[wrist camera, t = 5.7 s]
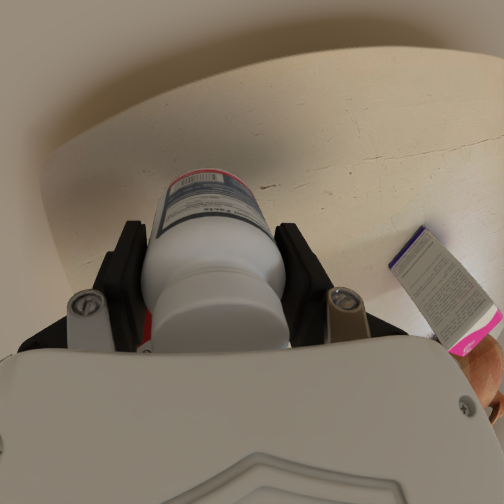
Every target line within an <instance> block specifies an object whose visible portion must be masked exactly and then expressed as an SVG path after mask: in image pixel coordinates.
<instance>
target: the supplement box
mask: <svg viewBox="0 0 504 504" xmlns="http://www.w3.org/2000/svg"><path fill="white" fill-rule="evenodd" d="M389 268H390V270H391V271H392V273H393V274H394V275H395V277H396V278H397V279H398V281H399V282H400V283H401V285H402V286H403V288H404V289H405V290H406V292H407V293H408V294H409V296H410V297H411V299H412V300H413V302H414V303H415V305H416V306H417V307H418V309H419V311H420V312H421V313H422V315H423V316H424V318H425V319H426V321H427V322H428V324H429V325H430V327H431V328H432V330H433V331H434V333H435V334H436V336H437V338H438V339H439V341H440V342H441V344H442V345H443V347H444V348H445V349H446V350H447V351H448V352H450V353H452V354H455V355H458V356H461V357H464V356H465V355H467V354H468V353H469V352H470V351H471V350H472V349H473V348H474V347H475V346H476V345H477V344H478V343H479V342H480V341H481V340H482V339H483V338H484V337H485V336H486V335H487V334H488V333H489V332H490V331H491V330H492V329H493V328H494V327H495V326H496V325H497V324H498V323H499V322H500V321H501V320H502V318H503V316H502V314H501V312H500V310H499V309H498V307H497V306H496V305H495V303H494V302H493V301H492V300H491V298H490V297H489V296H488V295H487V293H486V292H485V291H484V290H483V289H482V287H481V286H480V285H479V284H478V283H477V282H476V280H475V279H474V278H473V277H472V276H471V275H470V273H469V272H468V271H467V270H466V269H465V268H464V267H463V266H462V265H461V263H460V262H459V261H458V260H457V259H456V258H455V257H454V256H453V255H452V254H451V253H450V252H449V251H448V250H447V248H446V247H445V246H444V245H443V244H442V243H441V242H440V241H439V240H438V239H437V238H436V237H435V236H434V235H433V234H432V233H431V232H430V231H429V230H428V229H426V228H425V227H424V226H422V227H421V228H420V229H419V230H418V231H417V233H416V234H415V235H414V236H413V238H412V239H411V240H410V241H409V242H408V244H407V245H406V246H405V247H404V248H403V250H402V251H401V252H400V253H399V254H398V255H397V257H396V258H395V259H394V260H393V261H392V262H391V263H390V265H389Z"/></svg>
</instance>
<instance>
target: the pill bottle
mask: <svg viewBox="0 0 504 504" xmlns="http://www.w3.org/2000/svg"><path fill="white" fill-rule="evenodd" d="M285 281H286V273H285V267H284V263H283V259H282V256H281V253H280V251H279V249H278V247H277V244H276V242H275V240H274V238H273V236H272V234H271V232H270V229H269V227H268V225H267V223H266V221H265V219H264V217H263V215H262V212H261V210H260V208H259V206H258V204H257V202H256V199H255V197H254V195H253V194H252V192H251V190H250V189H249V187H248V186H247V185H246V184H245V183H244V182H243V181H242V180H241V179H240V178H239V177H237V176H236V175H234V174H232V173H230V172H228V171H225V170H222V169H218V168H199V169H194V170H191V171H188V172H186V173H184V174H182V175H180V176H179V177H177V178H176V179H175V180H173V181H172V182H171V183H170V184H169V185H168V187H167V188H166V189H165V191H164V192H163V194H162V196H161V198H160V201H159V203H158V207H157V210H156V214H155V218H154V223H153V227H152V231H151V236H150V240H149V243H148V247H147V250H146V254H145V258H144V261H143V266H142V272H141V292H142V296H143V299H144V302H145V304H146V306H147V308H148V310H149V312H150V313H151V314H152V328H151V348H152V353H220V352H242V351H259V350H272V349H284V348H287V347H288V343H289V328H288V325H287V322H286V319H285V316H284V313H283V308H282V304H281V302H280V300H281V298H282V296H283V292H284V288H285Z"/></svg>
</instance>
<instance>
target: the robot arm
mask: <svg viewBox="0 0 504 504" xmlns="http://www.w3.org/2000/svg"><path fill="white" fill-rule="evenodd" d="M274 240H275V242H276V244H277V247H278V249H279V251H280V253H281V256H282V259H283V263H284V267H285V273H286V281H285V288H284V292H283V296H282V298H281V300H280V302H281V304H282V308H283V313H284V316H285V319H286V322H287V325H288V328H289V341H290V344H291V347H292V348H284V349H272V350H259V351H242V352H220V353H137V345H142V341H143V332H144V324H145V317H146V310H147V306H146V304H145V302H144V299H143V296H142V292H141V272H142V266H143V261H144V258H145V254H146V250H147V238H146V226H145V224H141V221H127V222H126V224H125V226H124V229H123V231H122V233H121V236H120V238H119V240H118V243H117V245H116V248H115V250H114V251H108V252H107V253H106V255H105V258H104V260H103V262H102V265H101V267H100V270H99V272H98V275H97V277H96V280H95V282H94V285H93V288H92V289H86V290H83V291H80V292H78V293H76V294H74V295H73V296H72V297H71V298H70V300H69V302H68V305H67V316H65V317H63V318H62V319H60V320H58V321H57V322H55V323H53V324H52V325H50V326H48V327H47V328H45V329H43V330H42V331H40V332H39V333H37V334H35V335H34V336H32V337H31V338H29V339H27V340H26V341H25V342H23V343H22V344H21V346H20V347H19V349H18V352H17V354H14V355H12V354H11V355H9V356H8V357H6V358H4V359H2V360H0V504H504V454H503V452H502V449H501V446H500V444H499V441H498V439H497V437H496V435H495V432H494V430H493V427H492V425H491V423H490V421H489V419H488V417H487V415H486V413H485V411H484V409H483V407H482V405H481V403H480V401H479V399H478V397H477V395H476V393H475V392H474V390H473V388H472V386H471V385H470V383H469V381H468V380H467V378H466V376H465V375H464V373H463V372H462V370H461V366H460V364H459V362H458V361H457V360H456V359H455V358H454V357H452V356H451V355H450V354H449V353H448V351H447V350H446V349H445V348H444V347H443V346H442V345H441V344H439V343H438V342H436V341H434V340H431V339H428V338H424V337H419V336H412V335H409V334H408V333H406V332H405V331H403V330H401V329H399V328H397V327H395V326H393V325H391V324H389V323H387V322H385V321H383V320H381V319H379V318H377V317H375V316H373V315H371V314H369V313H367V312H366V311H365V307H364V302H363V300H362V298H361V297H360V296H359V294H357V293H356V292H355V291H353V290H351V289H348V288H345V287H334V286H333V284H332V282H331V281H330V279H329V277H328V275H327V274H326V272H325V270H324V268H323V267H322V265H321V263H320V262H319V260H318V258H317V257H316V255H315V254H314V253H313V252H312V251H311V249H310V247H309V246H308V244H307V242H306V241H305V239H304V237H303V236H302V234H301V232H300V231H299V229H298V228H297V226H296V224H295V223H281V225H280V226H277V227H276V230H275V235H274Z"/></svg>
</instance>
